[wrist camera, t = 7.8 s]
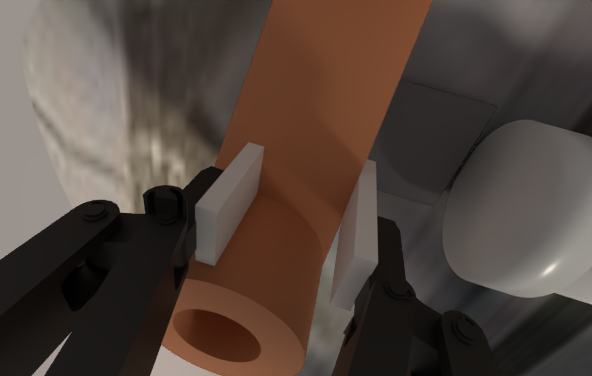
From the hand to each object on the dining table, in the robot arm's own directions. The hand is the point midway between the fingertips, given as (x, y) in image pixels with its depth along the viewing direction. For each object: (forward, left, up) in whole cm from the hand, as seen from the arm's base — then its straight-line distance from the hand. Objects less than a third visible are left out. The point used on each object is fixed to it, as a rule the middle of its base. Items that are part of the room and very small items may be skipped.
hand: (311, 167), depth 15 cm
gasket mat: (-3, 0, -7) cm, 7 cm away
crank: (-2, -1, +3) cm, 4 cm away
